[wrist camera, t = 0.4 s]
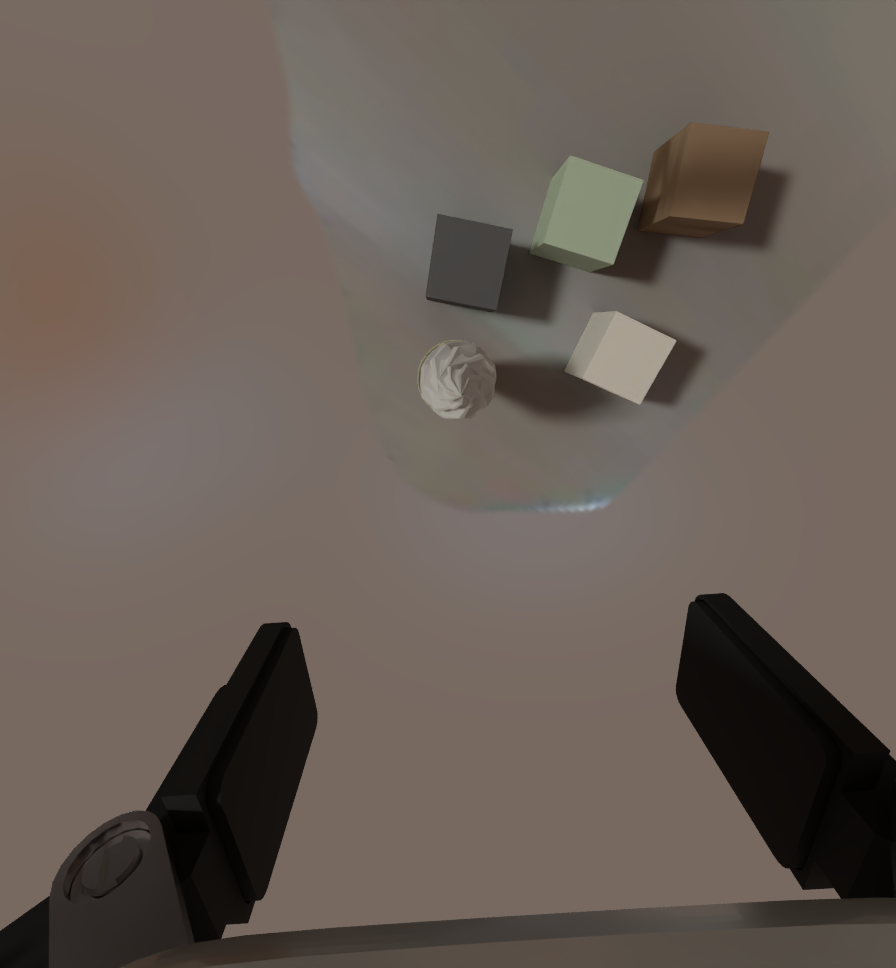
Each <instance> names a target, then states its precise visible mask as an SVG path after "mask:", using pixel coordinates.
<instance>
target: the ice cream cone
mask: <svg viewBox="0 0 896 968" xmlns="http://www.w3.org/2000/svg"><path fill="white" fill-rule="evenodd" d="M496 377H497V375H496V368H495V365H494V364H493V363H492V361H491V360H490V358H489V357H488V356H487V354H486V353H485V352H484V351H483V350H482V349H481V348H480V347H478V346H477V345H475V344H473V343H472V342H468V341H463V340H449V341H445V342H442V343H440V344H438V345H436V346H434V347H433V348H432V349H431V350H430V351H429V352H428V353H427V354H426V355H425V356H424V358H423V359H422V362H421V364H420V366H419V370H418V378H417V381H418V388H419V391H420V394H421V396H422V398H423V400H424V401H425V403H426V404H427V405H428V406H429V407H430V408H431V409H432V410H434V411H435V412H436V413H437V414H438V415H440V416H441V417H442V418H459V419H472V418H473V417H474V416H475V415H477V414H478V413H479V412H480V411H481V410H482V409H483V408H485V406H487V405H488V404H489V403H490V402H491V400H492V399H493V398H494V397H495V382H496Z"/></svg>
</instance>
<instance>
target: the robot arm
mask: <svg viewBox="0 0 896 968" xmlns="http://www.w3.org/2000/svg"><path fill="white" fill-rule="evenodd" d="M676 695H677V698H678V701H679V703H680V705H681V707H682V708H683V710H684V712H685V713H686V715H687V717H688V718H689V720H690V721H691V723H692V725H693V726H694V728H695V729H696V731H697V732H698V734H699V736H700V737H701V739H702V741H703V742H704V744H705V746H706V747H707V749H708V750H709V752H710V754H711V755H712V757H713V758H714V760H715V762H716V763H717V765H718V766H719V768H720V770H721V771H722V773H723V775H724V776H725V778H726V779H727V781H728V783H729V784H730V786H731V787H732V789H733V791H734V792H735V794H736V795H737V797H738V799H739V800H740V802H741V804H742V805H743V807H744V808H745V810H746V812H747V813H748V815H749V816H750V818H751V820H752V821H753V823H754V825H755V826H756V828H757V829H758V831H759V833H760V834H761V836H762V837H763V839H764V841H765V842H766V844H767V845H768V847H769V849H770V850H771V852H772V854H773V855H774V856H775V858H776V859H777V861H778V862H779V863H780V864H781V865H782V866H783V867H785V868H790V870H791V871H792V873H793V875H794V876H795V878H796V879H797V881H798V882H799V884H800V886H801V887H802V889H803V890H809V889H826V888H834V889H835V890H836V892H837V893H838V895H839V896H840V898H841V899H819V900H789V901H768V902H750V903H733V904H732V903H731V904H713V905H694V906H676V907H657V908H640V909H639V908H638V909H621V910H606V911H588V912H571V913H556V914H555V913H554V914H538V915H522V916H506V917H505V916H504V917H488V918H472V919H458V920H442V921H426V922H411V923H398V924H397V923H396V924H381V925H367V926H351V927H336V928H324V929H312V930H301V931H290V932H279V933H267V934H256V935H244V936H238V937H231V938H225V939H221V938H222V935H223V932H224V929H225V926H226V925H227V924H242V923H248V922H249V919H250V915H251V913H252V909H253V906H254V903H255V901H258V900H261V899H262V898H263V897H264V895H265V893H266V891H267V888H268V884H269V881H270V878H271V875H272V871H273V868H274V865H275V861H276V858H277V854H278V852H279V848H280V845H281V841H282V838H283V835H284V832H285V828H286V825H287V822H288V819H289V815H290V812H291V809H292V806H293V802H294V799H295V796H296V792H297V789H298V786H299V783H300V779H301V776H302V773H303V769H304V766H305V763H306V759H307V756H308V753H309V750H310V746H311V743H312V740H313V736H314V733H315V730H316V726H317V708H316V704H315V699H314V695H313V691H312V687H311V683H310V678H309V674H308V670H307V666H306V662H305V657H304V653H303V648H302V644H301V640H300V636H299V632H298V630H297V628H291V626H290V624H289V623H288V622H282V623H269V624H268V623H267V624H263V625H262V626H261V627H260V628H259V630H258V632H257V633H256V635H255V637H254V638H253V640H252V642H251V644H250V645H249V647H248V649H247V650H246V652H245V654H244V656H243V657H242V659H241V661H240V662H239V664H238V666H237V668H236V669H235V671H234V673H233V675H232V676H231V678H230V680H229V681H228V683H227V685H224V686H223V687H221V688H220V689H219V690H218V692H217V693H216V694H215V696H214V698H213V699H212V701H211V703H210V704H209V706H208V708H207V709H206V711H205V713H204V714H203V716H202V718H201V719H200V721H199V723H198V724H197V726H196V728H195V729H194V731H193V733H192V734H191V736H190V738H189V739H188V741H187V743H186V744H185V746H184V748H183V749H182V751H181V753H180V754H179V756H178V758H177V759H176V761H175V763H174V764H173V766H172V768H171V770H170V771H169V773H168V774H167V776H166V778H165V779H164V781H163V783H162V784H161V786H160V788H159V789H158V791H157V793H156V795H155V796H154V798H153V799H152V801H151V803H150V804H149V806H148V808H147V809H146V811H132V812H129V813H125V814H121V815H119V816H117V817H115V818H113V819H111V820H109V821H107V822H105V823H104V824H102V825H101V826H99V827H98V828H97V829H96V830H94V831H92V832H91V833H90V834H88V835H87V836H86V837H85V838H84V839H83V840H82V841H81V842H80V843H79V844H78V845H77V846H76V847H75V848H74V849H73V850H72V852H71V853H70V854H69V856H68V857H67V858H66V860H65V861H64V862H63V864H62V865H61V867H60V869H59V870H58V873H57V874H56V876H55V879H54V880H53V883H52V888H51V892H50V896H49V897H47V898H46V899H44V900H43V901H42V902H40V903H39V904H37V905H36V906H35V907H33V908H32V909H30V910H29V911H28V912H26V913H25V914H23V915H22V916H21V917H19V918H18V919H16V920H15V921H14V922H12V923H11V924H9V925H8V926H7V927H5V928H4V929H2V930H1V931H0V968H896V761H895V760H894V759H893V758H892V757H891V756H890V755H889V753H890V750H889V749H888V748H887V747H886V746H885V745H884V744H883V743H882V742H881V741H880V740H879V739H878V738H877V737H875V736H874V735H873V734H872V733H871V732H870V731H869V730H868V729H867V728H866V727H865V726H864V725H863V724H862V723H861V722H860V721H859V720H858V719H857V718H856V717H855V716H854V715H852V713H850V712H849V711H848V710H847V709H846V708H845V707H844V706H843V705H842V704H841V703H840V702H839V701H838V700H837V699H836V698H835V697H834V696H833V695H832V694H831V693H830V692H829V691H828V690H827V689H825V688H824V687H823V686H822V685H821V684H820V683H819V682H818V681H817V680H816V679H815V678H814V677H813V676H812V675H811V674H810V673H809V672H808V671H807V670H806V669H805V668H804V667H803V666H802V665H801V664H799V663H798V662H797V661H796V660H795V659H794V658H793V657H792V656H791V655H790V654H789V653H788V652H787V651H786V650H785V649H784V648H783V647H782V646H781V645H780V644H779V643H778V642H777V641H775V639H773V638H772V637H771V636H770V635H769V634H768V633H767V632H766V631H765V630H764V629H763V628H762V627H761V626H760V625H759V624H758V623H757V622H756V621H755V620H754V619H753V618H752V617H750V615H748V614H747V613H746V612H745V611H744V610H743V609H742V608H741V607H740V606H739V605H738V604H737V603H736V602H735V601H734V600H733V599H732V598H731V597H730V596H728V595H727V594H724V593H720V594H705V595H698V596H697V597H696V599H695V602H691V603H690V604H689V607H688V613H687V620H686V626H685V632H684V639H683V645H682V651H681V658H680V664H679V670H678V677H677V683H676Z"/></svg>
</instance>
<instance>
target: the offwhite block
mask: <svg viewBox="0 0 896 968" xmlns="http://www.w3.org/2000/svg"><path fill="white" fill-rule="evenodd" d="M676 341H677V340H675V339H673V338H671V337H668V336H666V335H664V334H662V333H660V332H658V331H656V330H654V329H652V328H650V327H648V326H646V325H644V324H642V323H640V322H638V321H636V320H634V319H632V318H629V317H627V316H625V315H623V314H621V313H619V312H617V311H613V312H597V313H593V315H592V317H591V319H590V321H589V323H588V325H587V327H586V329H585V331H584V333H583V335H582V337H581V339H580V341H579V343H578V345H577V347H576V349H575V351H574V353H573V355H572V357H571V359H570V361H569V363H568V365H567V367H566V369H565V371H564V372H566V373H569V374H571V375H573V376H575V377H577V378H580V379H582V380H584V381H586V382H588V383H591V384H593V385H595V386H597V387H599V388H602V389H604V390H606V391H608V392H610V393H613V394H615V395H617V396H620V397H622V398H625V399H627V400H629V401H632V402H634V403H637V404H639V405H640V404H641V402H642V400H643V399H644V397H645V395H646V393H647V392H648V390H649V388H650V386H651V385H652V383H653V381H654V379H655V378H656V376H657V374H658V372H659V371H660V369H661V367H662V366H663V364H664V362H665V360H666V359H667V357H668V355H669V353H670V352H671V350H672V348H673V346H674V345H675V343H676Z"/></svg>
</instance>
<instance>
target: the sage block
mask: <svg viewBox="0 0 896 968" xmlns="http://www.w3.org/2000/svg"><path fill="white" fill-rule="evenodd" d="M643 181H644V180H642V179H639V178H636V177H633V176H630V175H627V174H624V173H621V172H618V171H615V170H612V169H609V168H606V167H603V166H600V165H597V164H594V163H591V162H588V161H585V160H583V159H580V158H577V157H574V156H571V155H570V156H569V158H568V159H567V160H566V161H565V163H564V164H563V165H562V166H561V168H560V169H559V170H558V172H557V173H556V174H555V175H554V177H553V178H552V179H551V182H550V185H549V189H548V192H547V195H546V199H545V202H544V206H543V209H542V212H541V216H540V219H539V222H538V226H537V229H536V233H535V236H534V239H533V243H532V246H531V250H530V253H529V254H532V255H535V256H539V257H542V258H545V259H548V260H552V261H555V262H558V263H561V264H565V265H568V266H571V267H574V268H577V269H581V270H584V271H587V272H592V271H595V270H598V269H601V268H605V267H608V266H611V265H613V264H614V262H615V259H616V256H617V253H618V250H619V248H620V245H621V242H622V239H623V237H624V234H625V231H626V228H627V225H628V223H629V220H630V217H631V214H632V211H633V209H634V206H635V203H636V200H637V198H638V195H639V192H640V189H641V186H642V184H643Z"/></svg>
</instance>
